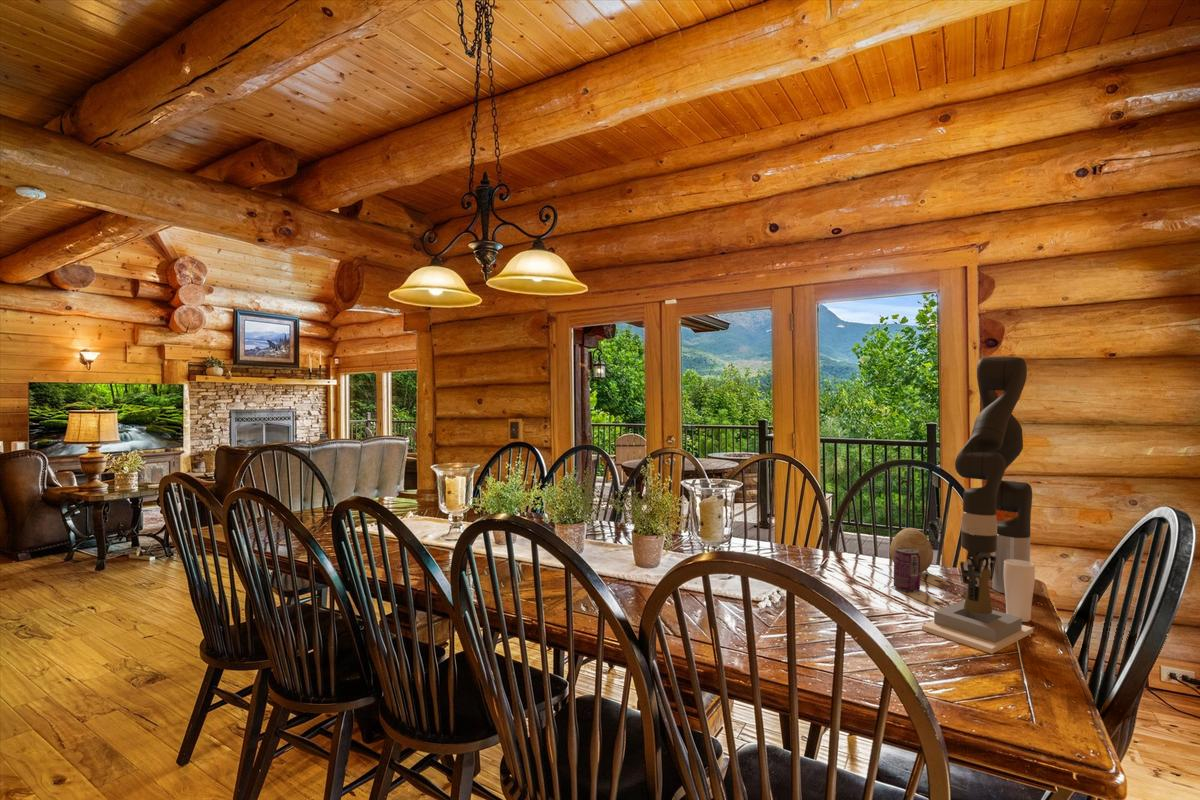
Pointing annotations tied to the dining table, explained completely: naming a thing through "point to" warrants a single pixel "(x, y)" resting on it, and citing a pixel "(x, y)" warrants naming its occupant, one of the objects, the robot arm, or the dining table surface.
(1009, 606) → the drinking glass
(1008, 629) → the socket board
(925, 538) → the fossilized egg
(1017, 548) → the robot arm
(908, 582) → the beverage can
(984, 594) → the cork
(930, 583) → the dining table surface
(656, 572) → the dining table surface
